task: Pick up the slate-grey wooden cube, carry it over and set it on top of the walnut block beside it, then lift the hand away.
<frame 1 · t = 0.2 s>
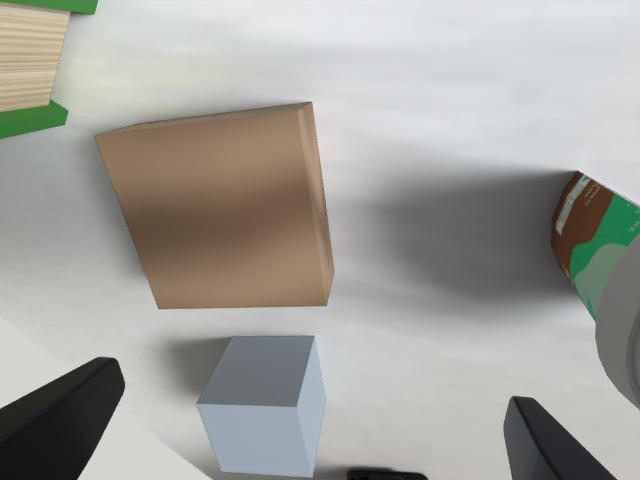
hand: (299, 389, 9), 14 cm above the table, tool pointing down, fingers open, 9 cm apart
walnut block: (243, 199, 23), on the table
grey cube: (280, 368, 28), on the table
food container: (606, 258, 21), on the table
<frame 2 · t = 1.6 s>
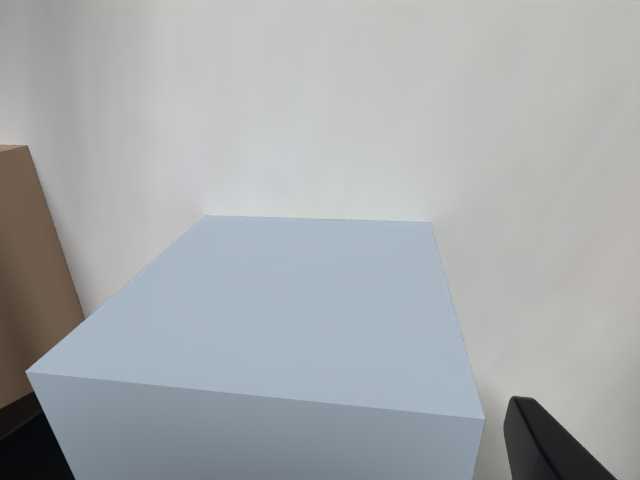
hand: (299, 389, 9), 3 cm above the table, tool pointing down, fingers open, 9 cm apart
grey cube: (317, 310, 11), on the table
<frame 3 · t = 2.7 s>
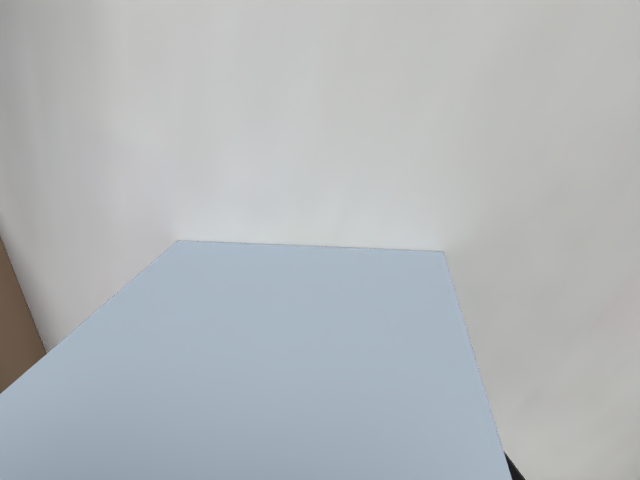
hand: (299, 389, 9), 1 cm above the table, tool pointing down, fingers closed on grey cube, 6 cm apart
grey cube: (309, 351, 10), on the table, touching gripper
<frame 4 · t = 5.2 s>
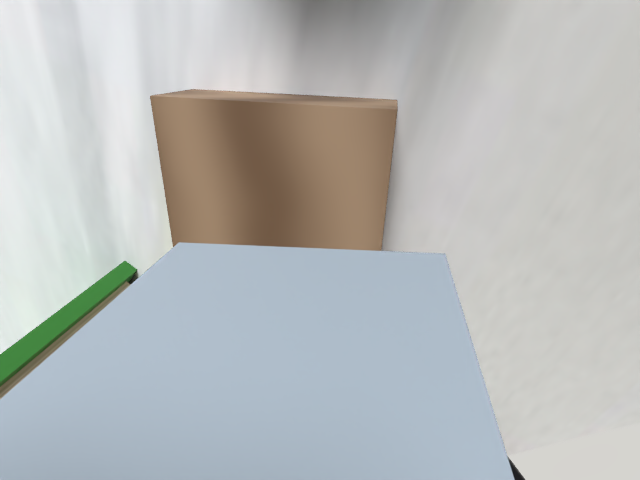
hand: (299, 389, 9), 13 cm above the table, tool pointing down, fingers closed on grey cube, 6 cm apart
walnut block: (292, 192, 21), on the table
hardback book: (122, 363, 29), on the table
grey cube: (310, 353, 10), point 11 cm above the table, touching gripper
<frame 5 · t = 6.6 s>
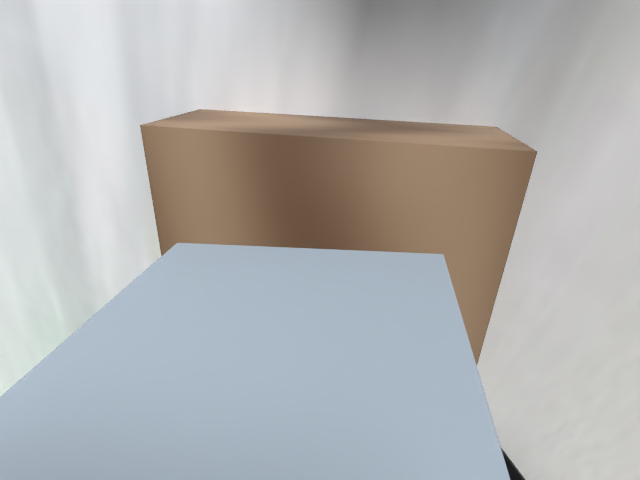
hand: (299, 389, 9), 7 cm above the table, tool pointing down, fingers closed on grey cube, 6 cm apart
walnut block: (334, 246, 15), on the table
grey cube: (308, 353, 10), point 6 cm above the table, touching gripper
when the fingers open (7 cm above the table, at t = 7.6 s): grey cube drops 2 cm, point 4 cm above the table.
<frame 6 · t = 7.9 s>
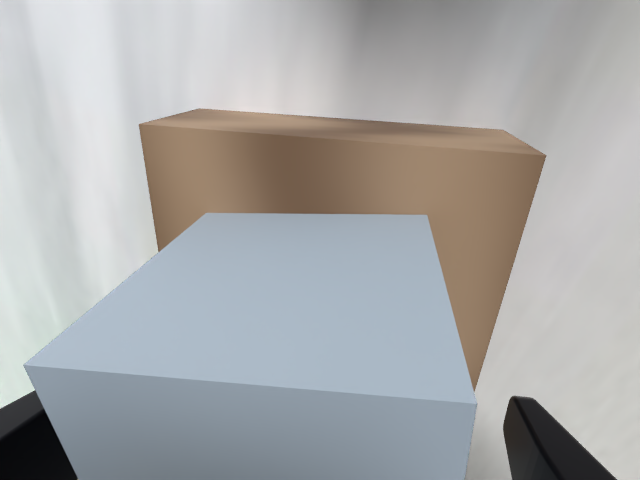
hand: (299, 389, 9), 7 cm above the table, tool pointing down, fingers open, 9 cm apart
walnut block: (335, 248, 15), on the table
grey cube: (317, 307, 11), point 4 cm above the table
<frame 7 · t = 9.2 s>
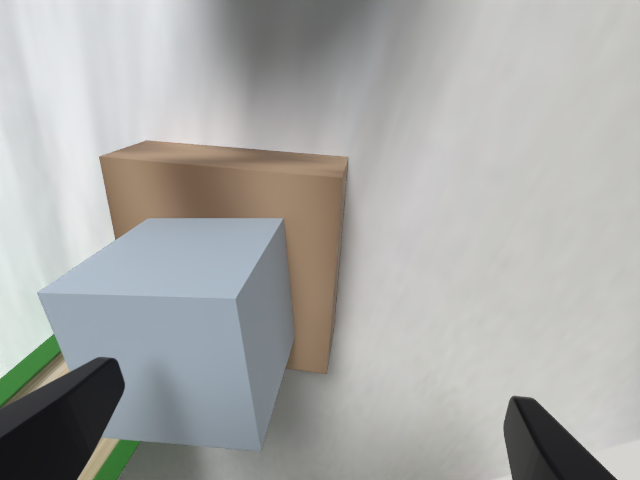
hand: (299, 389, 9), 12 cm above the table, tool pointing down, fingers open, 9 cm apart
walnut block: (250, 238, 21), on the table
hardback book: (87, 405, 28), on the table
grey cube: (224, 280, 17), point 4 cm above the table
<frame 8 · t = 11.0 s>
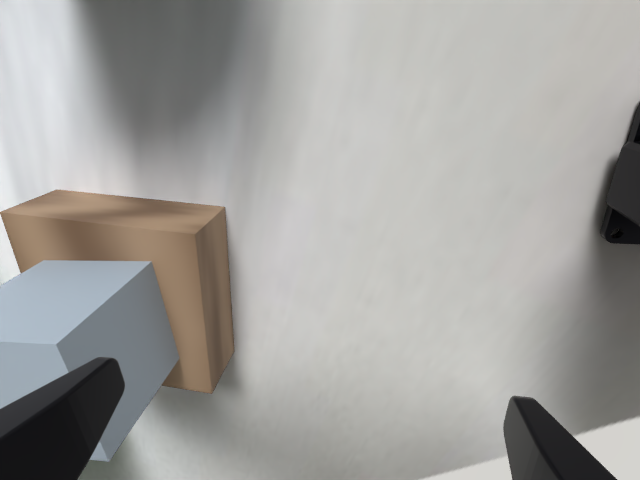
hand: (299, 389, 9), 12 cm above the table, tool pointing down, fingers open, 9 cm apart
walnut block: (155, 272, 24), on the table, touching grey cube
grey cube: (114, 311, 20), point 4 cm above the table, touching walnut block
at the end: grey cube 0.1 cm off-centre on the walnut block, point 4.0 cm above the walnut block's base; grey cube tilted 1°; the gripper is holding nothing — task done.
